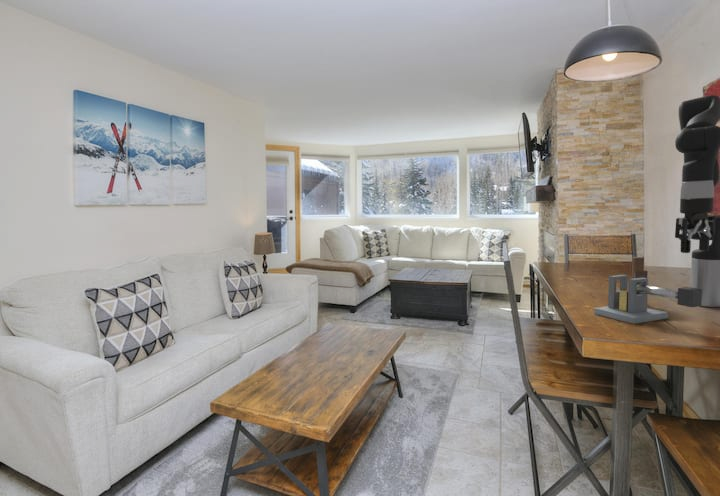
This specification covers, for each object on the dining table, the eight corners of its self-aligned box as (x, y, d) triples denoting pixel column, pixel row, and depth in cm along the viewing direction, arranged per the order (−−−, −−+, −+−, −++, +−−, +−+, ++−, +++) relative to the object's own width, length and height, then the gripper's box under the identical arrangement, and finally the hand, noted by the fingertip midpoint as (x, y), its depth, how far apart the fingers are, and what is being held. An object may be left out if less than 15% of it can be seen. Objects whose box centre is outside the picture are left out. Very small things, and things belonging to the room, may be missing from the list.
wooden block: (634, 308, 144) (635, 259, 142) (629, 302, 153) (631, 256, 152) (646, 309, 142) (648, 260, 141) (641, 303, 152) (643, 256, 150)
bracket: (626, 308, 144) (627, 273, 143) (667, 318, 131) (669, 278, 129) (594, 313, 138) (594, 276, 137) (633, 323, 125) (634, 282, 124)
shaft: (642, 295, 132) (643, 280, 131) (701, 305, 116) (702, 289, 115) (634, 296, 131) (634, 281, 130) (692, 307, 115) (693, 290, 114)
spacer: (633, 308, 137) (634, 288, 136) (640, 309, 134) (641, 289, 134) (619, 310, 134) (619, 290, 134) (626, 312, 132) (626, 291, 131)
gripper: (697, 196, 122) (695, 248, 124) (666, 198, 117) (665, 252, 119) (727, 195, 115) (724, 250, 117) (695, 197, 110) (693, 254, 112)
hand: (694, 251), depth 118 cm, fingers open, 8 cm apart
